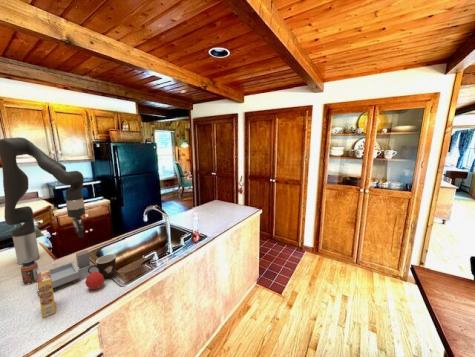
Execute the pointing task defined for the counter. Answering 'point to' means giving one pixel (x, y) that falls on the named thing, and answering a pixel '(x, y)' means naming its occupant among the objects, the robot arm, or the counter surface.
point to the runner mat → (82, 274)
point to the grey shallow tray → (63, 274)
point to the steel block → (83, 259)
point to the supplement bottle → (29, 271)
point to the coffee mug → (106, 266)
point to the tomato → (94, 280)
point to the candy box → (46, 293)
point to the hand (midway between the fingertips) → (79, 234)
